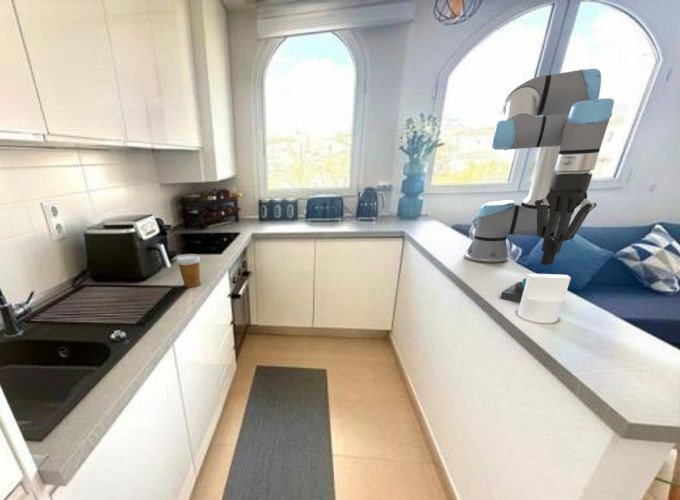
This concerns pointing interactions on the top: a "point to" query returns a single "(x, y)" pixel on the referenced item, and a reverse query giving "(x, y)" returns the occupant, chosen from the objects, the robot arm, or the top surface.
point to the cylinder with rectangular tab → (543, 297)
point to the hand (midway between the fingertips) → (546, 263)
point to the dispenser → (513, 292)
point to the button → (524, 282)
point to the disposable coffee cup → (189, 269)
